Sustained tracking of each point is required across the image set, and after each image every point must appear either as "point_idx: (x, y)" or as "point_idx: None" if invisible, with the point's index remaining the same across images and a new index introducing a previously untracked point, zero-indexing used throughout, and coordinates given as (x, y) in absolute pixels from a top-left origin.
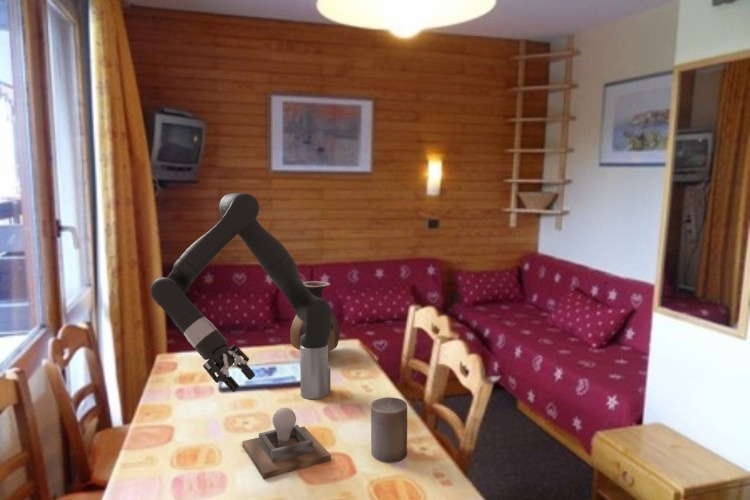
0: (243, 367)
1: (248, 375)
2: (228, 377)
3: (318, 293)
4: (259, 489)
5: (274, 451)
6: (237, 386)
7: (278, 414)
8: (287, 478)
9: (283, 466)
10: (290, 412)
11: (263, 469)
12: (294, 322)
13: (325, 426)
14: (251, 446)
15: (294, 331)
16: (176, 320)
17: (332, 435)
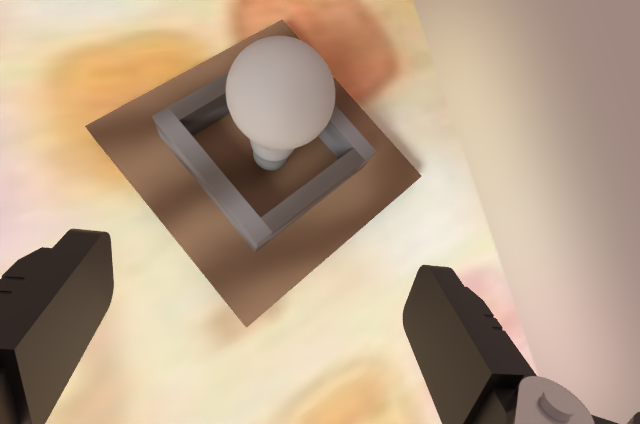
0: (10, 398)
1: (93, 304)
2: (513, 389)
3: None
4: (456, 178)
5: (370, 146)
6: (450, 271)
7: (323, 88)
8: (391, 123)
9: (373, 132)
10: (293, 39)
11: (403, 182)
12: None
13: (41, 71)
14: (279, 273)
15: None
16: None
17: (117, 42)
